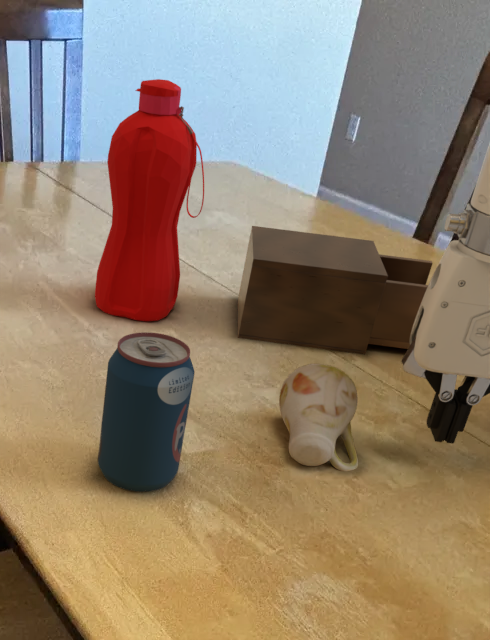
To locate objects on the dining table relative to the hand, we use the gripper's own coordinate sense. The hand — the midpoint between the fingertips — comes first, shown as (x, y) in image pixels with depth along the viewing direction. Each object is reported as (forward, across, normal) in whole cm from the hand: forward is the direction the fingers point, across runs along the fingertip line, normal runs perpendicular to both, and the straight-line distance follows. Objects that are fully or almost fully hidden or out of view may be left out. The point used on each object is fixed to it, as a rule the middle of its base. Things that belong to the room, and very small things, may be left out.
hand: (441, 435), depth 80 cm
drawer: (+2, +2, +28) cm, 29 cm away
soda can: (+2, -27, -10) cm, 29 cm away
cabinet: (+3, -11, +28) cm, 31 cm away
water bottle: (+3, -30, +28) cm, 41 cm away
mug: (+3, -11, -1) cm, 12 cm away
